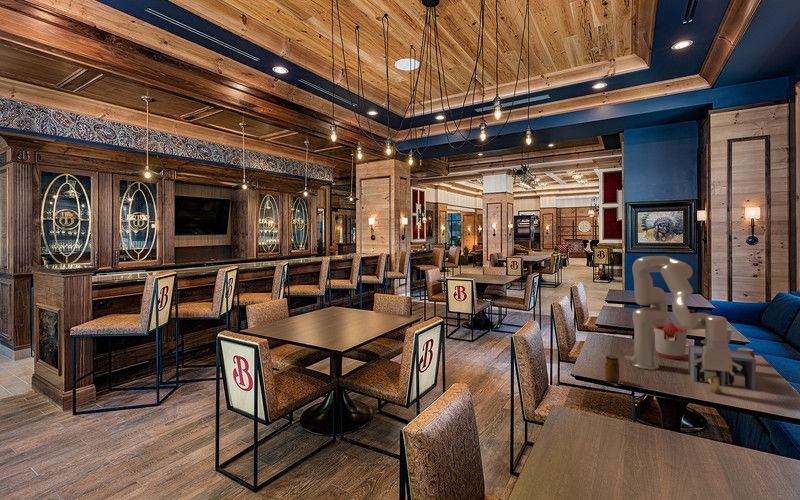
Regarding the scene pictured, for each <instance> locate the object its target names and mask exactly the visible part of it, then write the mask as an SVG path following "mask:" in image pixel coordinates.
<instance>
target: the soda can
mask: <svg viewBox="0 0 800 500" xmlns="http://www.w3.org/2000/svg"><path fill="white" fill-rule="evenodd" d="M737 350H740V351H746V352H748V353H749V354H750V355H751V356H752V357H753V358H755V359H756V357H755V355H756V354H755V353H754V350H753V349H751V348H748V347H737Z"/></svg>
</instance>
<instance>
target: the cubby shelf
mask: <svg viewBox="0 0 800 500" xmlns="http://www.w3.org/2000/svg"><path fill="white" fill-rule="evenodd" d="M729 349H730V351H731V357H732V361H733V362H735V363H737V364H739V365H741V366H742V369H741V370H740V371H739V372H741V373H742V374H743V375H744V376H745V385H747V386H748V388H750V389H751V391H756V377H757V376H756V375H757V373H756V370H757V369H756V368H757V365H756V364H757V359H756V357H755V358H753V357H752V356H751V355H750V354H749V353H748V352H746V351H740V350H738V349H731V348H729ZM702 350H703V346H702V345H691V344H689V345H688V364H687V365H688V371H687V372H688V375H690V378H691V379H692V381H693V382H695V383H697V381H698V369H697V368H696V367H695V366H694V364H693V363H692V360H695V359H699V358H702ZM697 365H698V366H699V367H701V366H702V363H701V362H698V363H697ZM736 368H737V367H736V366H734V365H732V371H733V370H735V369H736ZM715 372H716V376H718V377H720V383H719V385H721V386H723V387H725V386H726V381H725V371H717V370H715Z"/></svg>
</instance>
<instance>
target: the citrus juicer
mask: <svg viewBox="0 0 800 500" xmlns="http://www.w3.org/2000/svg"><path fill="white" fill-rule="evenodd" d="M653 327H654V328H653V330H654V332H655V353H657V355H658V356H659V357H662V358H665V359H670V360H681V359H683V358H684V355H685V352H686V350H687V349H686V348H687V331H688V330H687V329H684V328H683V327H682V326H678V325H674V324H673V323H672V322H668V323H667V324H660V325H653Z"/></svg>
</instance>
